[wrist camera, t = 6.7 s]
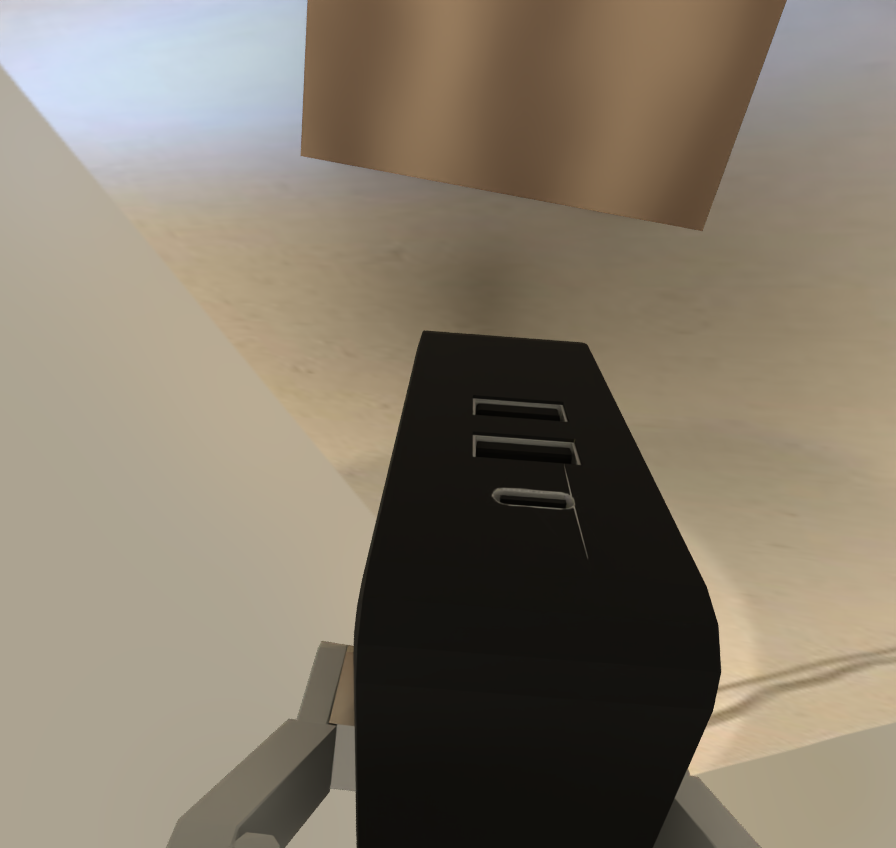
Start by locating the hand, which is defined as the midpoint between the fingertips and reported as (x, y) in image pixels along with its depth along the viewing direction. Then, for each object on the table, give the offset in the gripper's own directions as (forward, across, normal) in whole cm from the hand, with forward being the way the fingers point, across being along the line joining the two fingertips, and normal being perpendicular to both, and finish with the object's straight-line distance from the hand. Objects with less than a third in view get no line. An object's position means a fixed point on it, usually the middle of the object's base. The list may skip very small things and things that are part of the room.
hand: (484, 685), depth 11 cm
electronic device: (+7, 0, 0) cm, 7 cm away
